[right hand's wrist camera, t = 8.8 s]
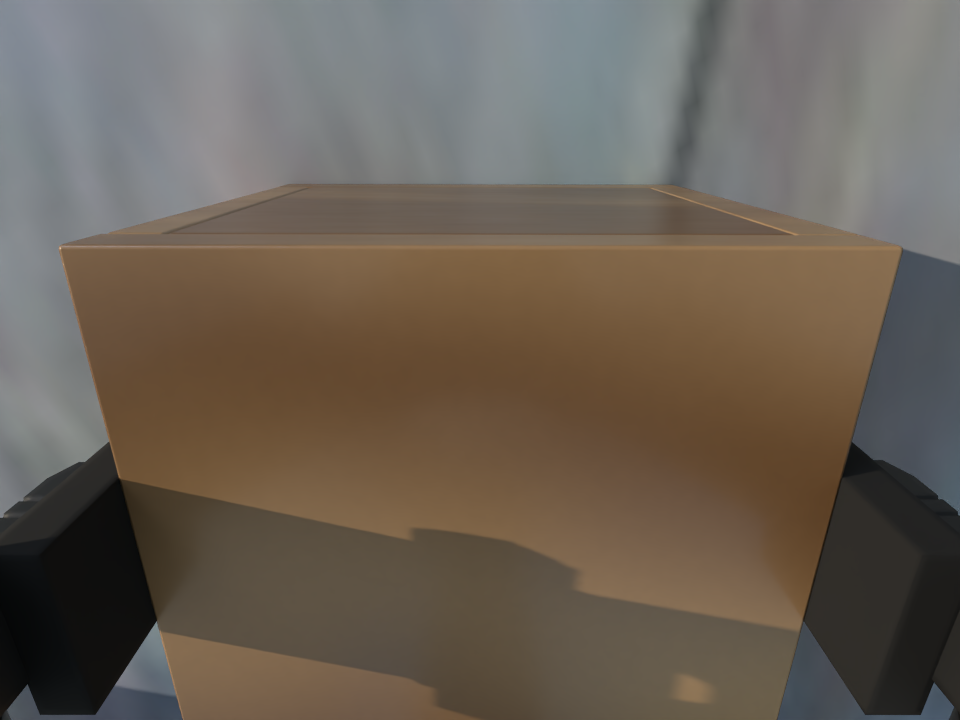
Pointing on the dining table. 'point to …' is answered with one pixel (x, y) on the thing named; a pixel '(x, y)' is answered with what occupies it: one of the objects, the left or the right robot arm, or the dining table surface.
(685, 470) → the cabinet
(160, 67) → the dining table surface
